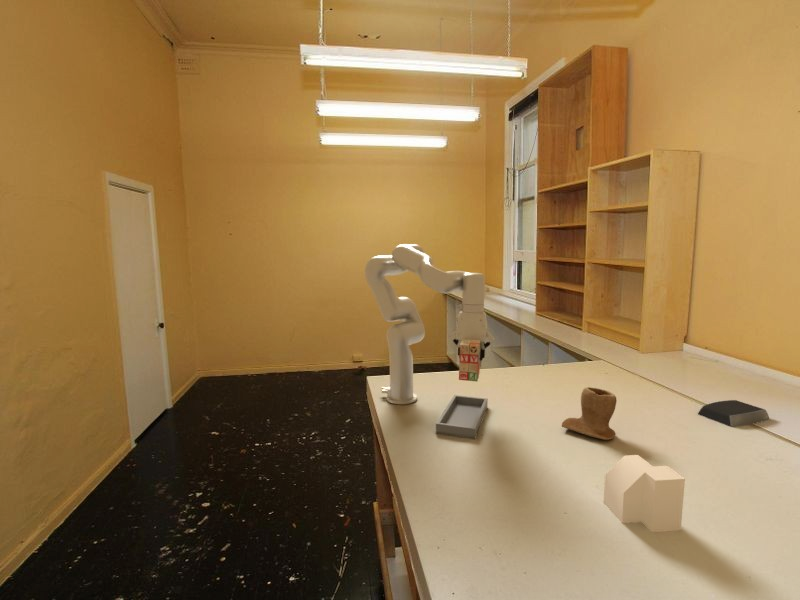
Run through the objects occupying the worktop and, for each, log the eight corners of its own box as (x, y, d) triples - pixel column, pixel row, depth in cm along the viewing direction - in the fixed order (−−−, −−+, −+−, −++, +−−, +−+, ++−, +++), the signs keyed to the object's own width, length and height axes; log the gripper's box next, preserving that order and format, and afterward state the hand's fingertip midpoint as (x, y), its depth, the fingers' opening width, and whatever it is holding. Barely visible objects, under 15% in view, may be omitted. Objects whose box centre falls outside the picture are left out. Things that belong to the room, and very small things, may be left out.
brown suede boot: (621, 433, 136) (623, 389, 134) (608, 446, 128) (610, 399, 126) (575, 420, 147) (576, 379, 145) (560, 431, 139) (562, 388, 137)
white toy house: (680, 530, 90) (684, 478, 89) (631, 533, 89) (634, 481, 88) (647, 500, 101) (651, 454, 99) (603, 503, 100) (605, 456, 98)
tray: (435, 433, 138) (435, 423, 138) (454, 403, 164) (454, 395, 164) (474, 439, 134) (474, 428, 133) (487, 407, 160) (487, 398, 159)
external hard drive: (772, 421, 145) (773, 410, 145) (733, 429, 139) (734, 417, 139) (732, 407, 158) (733, 397, 157) (695, 414, 152) (696, 403, 151)
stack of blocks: (464, 361, 158) (465, 330, 156) (481, 363, 156) (482, 331, 154) (458, 380, 137) (459, 343, 135) (477, 381, 136) (479, 345, 134)
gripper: (445, 308, 142) (444, 359, 145) (497, 312, 137) (494, 364, 139) (450, 305, 149) (449, 353, 152) (499, 308, 144) (497, 358, 146)
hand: (471, 358), depth 145 cm, fingers closed on stack of blocks, 6 cm apart
